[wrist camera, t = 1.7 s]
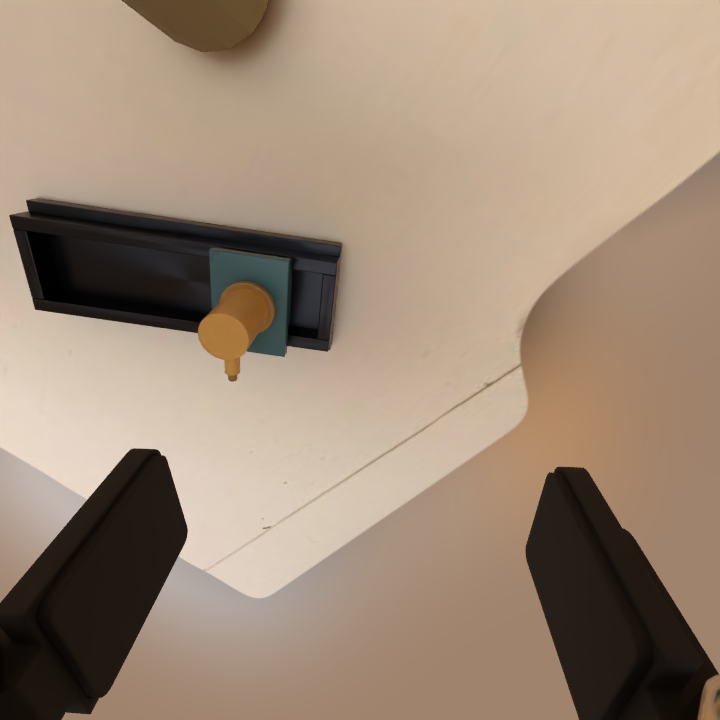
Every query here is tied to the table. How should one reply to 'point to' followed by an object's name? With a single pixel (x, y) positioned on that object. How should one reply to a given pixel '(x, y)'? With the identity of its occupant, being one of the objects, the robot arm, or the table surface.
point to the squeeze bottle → (203, 20)
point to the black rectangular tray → (161, 268)
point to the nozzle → (247, 306)
